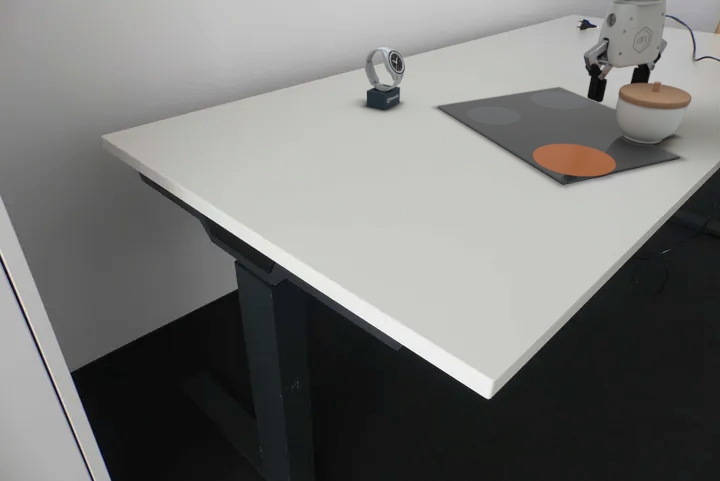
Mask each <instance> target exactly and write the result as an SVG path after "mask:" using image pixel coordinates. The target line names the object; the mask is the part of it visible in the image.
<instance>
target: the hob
mask: <svg viewBox="0 0 720 481" xmlns="http://www.w3.org/2000/svg"><path fill="white" fill-rule="evenodd" d="M437 108H438V109H440V110H441V111H443V112H444V113H445V114H447V115H449V116H450V117H453V118H454V119H456V120H457V121H459V122H460V123H462V124H464V125H465V126H466V127H469V128H471V129H472V130H474V131H475V132H477V133H479V134H480V135H482V136H483V137H485V138H487V139H488V140H490V141H492V142H493V143H495V144H496V145H498V146H500V147H501V148H503V149H505V150H506V151H507V152H509V153H511V154H513V155H514V156H515V157H518V158H519V159H521V160H523V161H524V162H526V163H528V164H529V165H530V166H532V167H534V168H535V169H537V170H539V171H541V172H542V173H544V174H546V175H547V176H549V177H550V178H551V179H553V180H555V181H556V182H558V183H560V184H561V185H568V184H571V183H576V182H580V181H584V180H589V179H594V178H598V177H604V176H607V175H611V174H615V173H621V172H624V171H630V170H634V169H638V168H642V167H647V166H652V165H656V164H660V163H665V162H669V161H673V160H677V159H680V158H681V156H680V155H678V154H675V153H673V152H671V151H669V150H666V149H664V148H662V147H659V146H657V145H655V144H645V143H638V142H634V141H631V140H629V139H627V138H625V137H624V136H623V132H622V131H621V130H620V128H619V127H618V125H617V122H616V109H615V108H612V107H610V106H607V105H604V104H601V103H600V102H596V101H594V100H591V99H588V97H584V96H582V95H580V94H577V93H575V92H573V91H570V90H568V89H565V88H562V87H560V86H559V87H552V88H545V89H539V90H532V91H525V92H519V93H513V94H505V95H500V96H494V97H493V96H492V97H487V98H480V99H475V100H473V99H472V100H468V101H461V102H454V103H448V104H442V105H437ZM674 137H676V134H675V133H674V132H673V133H672V134H671V135H669V136H668V137H666V138H665V139H668V138H674ZM551 144H575V145H582V146H586V147H590V148H594V149H597V150H599V151H602V152H604V153H606V154H608V155H609V156H610V157H612V158H613V159H614V161H615V163H616V167H615V169H614V170H613V171H611V172H609V173H607V174H604V175H599V176H574V175H567V174H562V173H558V172H555V171H552V170H549V169H547V168H545V167H543V166H541V165H540V164H538V163H537V162H536V161H535V160H534V158H533V153H534V151H535V150H536V149H538V148H540V147H542V146H546V145H551Z"/></svg>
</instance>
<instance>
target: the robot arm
mask: <svg viewBox="0 0 720 481" xmlns="http://www.w3.org/2000/svg"><path fill="white" fill-rule="evenodd" d="M666 14H667V0H611V1H610V2H609V5H608V8H607V9H606V12H605V16H604V19H603V22H602V25H601V29H600V33H599V37H598V40H597V43H596V44H595V45H593V46H592V47H591V48H589V49H588V50H587V51H585V52H584V53H583V60H584V64H585V66H584V68H585V70H586V71H587V73H588V76H589V77H590V79H589V84H588V91H587V96H586V98H587V99H590V100H592V101H594V102H597V103H602V102H603V101H604V99H605V98H604V97H605V93H606V88H607V84H608V79H607V78H606V77H607V75H608V74H609V73H610V71H611V70H612V69H614V68H615V69H622V68H628V67H634V66H636V67H634V68H633V71H632V75H631V79H630V83H629V84H632V83H649V80H650V77H651V72H652V71H654V69H655V68H656V64H657V63H658V61H659V60H660V59H661V57H662V54H663V53H664V51H665V49H666V48H667V45H668V41H666V40H665V39H664V38H663V36H664V35H663V34H664V29H665V24H666ZM602 66H603V68H602ZM601 68H602V69H601Z"/></svg>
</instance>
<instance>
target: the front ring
mask: <svg viewBox="0 0 720 481" xmlns="http://www.w3.org/2000/svg"><path fill="white" fill-rule="evenodd" d="M533 158H534V160H535V161H536V162H537V163H538V164H540V165H541V166H543V167H545V168H547V169H549V170H552V171H555V172H558V173H562V174H567V175H574V176H598V177H600V176H599V175H603V176H605V175H604V174H607V173H609V172H611V171H613V170H614V169H615V167H616V163H615V161H614V159H613V158H612V157H610V156H609V155H608V154H606V153H604V152H602V151H599V150H597V149H594V148H590V147H586V146H582V145H575V144H551V145H546V146H542V147H540V148H538V149H536V150H535V151H534V153H533ZM607 175H608V174H607Z"/></svg>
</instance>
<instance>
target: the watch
mask: <svg viewBox="0 0 720 481" xmlns="http://www.w3.org/2000/svg"><path fill="white" fill-rule="evenodd" d="M377 52H381V55H382V57H383V65H384V68H385V70H386V72H387V73H388V74H389V75H390V76H391V79H392V81H393V83H392V84H391V85H390V84H385V83H380V79H379V77H378V75H377V72H376V69H375V65H374V64H373V58H374V55H376V53H377ZM364 71H365V75H366V76H367V79H368V80H367V81H368V82H369V83H370V85H371V86H373V87H372V88H370V89H368V90H366V107H369V108H373V109H377V110H382V111H386V110H388V109H390V108H393V107H394V106H396V105H398V104H400V103H401V102H400V101H401V86H400V87H399V85H400V84H401V82H402V80H403V77H404V75H405V74H404V73H405V71H406V63H405V61H404V58H403V57H402V55H401V53H400V52H398V51H397V50H395V49H393V48H391V47H388V46H380V47H378V48H377V47H376V48H375V49H372V50H371V51H369V52H368V53H367V55H366V57H365V60H364Z"/></svg>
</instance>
